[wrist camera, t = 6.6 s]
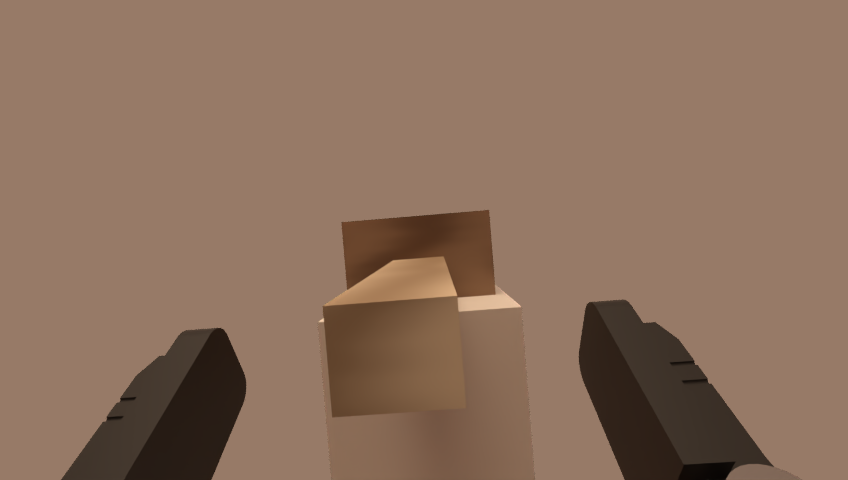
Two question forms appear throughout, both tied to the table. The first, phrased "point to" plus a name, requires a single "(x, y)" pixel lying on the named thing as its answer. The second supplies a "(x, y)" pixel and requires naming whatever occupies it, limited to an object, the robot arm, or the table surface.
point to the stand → (449, 412)
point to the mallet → (405, 312)
